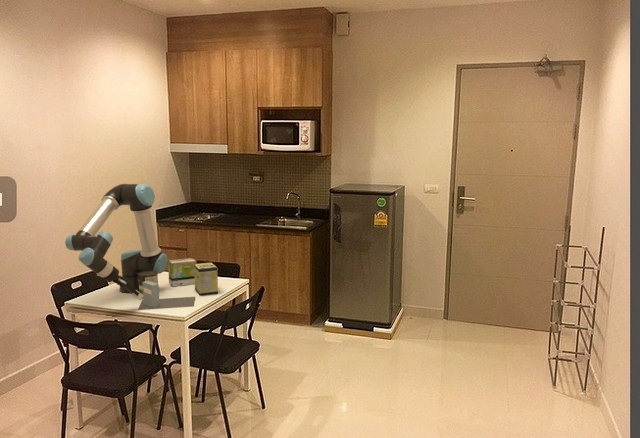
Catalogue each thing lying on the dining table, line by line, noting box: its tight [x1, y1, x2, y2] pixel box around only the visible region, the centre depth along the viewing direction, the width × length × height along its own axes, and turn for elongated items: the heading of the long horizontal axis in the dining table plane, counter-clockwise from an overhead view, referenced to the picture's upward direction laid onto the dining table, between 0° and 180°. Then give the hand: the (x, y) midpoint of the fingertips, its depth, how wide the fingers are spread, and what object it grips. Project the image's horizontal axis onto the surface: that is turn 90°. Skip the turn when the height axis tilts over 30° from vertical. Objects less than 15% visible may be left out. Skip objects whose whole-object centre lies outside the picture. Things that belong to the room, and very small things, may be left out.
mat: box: [137, 296, 196, 311], centre depth 266 cm, size 18×28×1 cm, turn 102°
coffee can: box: [138, 271, 159, 300], centre depth 278 cm, size 10×10×14 cm
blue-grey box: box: [142, 281, 160, 308], centre depth 262 cm, size 4×10×12 cm, turn 47°
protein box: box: [194, 261, 219, 297], centre depth 289 cm, size 10×16×16 cm
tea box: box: [167, 257, 198, 288], centre depth 306 cm, size 15×10×15 cm, turn 120°
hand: (141, 297), depth 258 cm, fingers closed
